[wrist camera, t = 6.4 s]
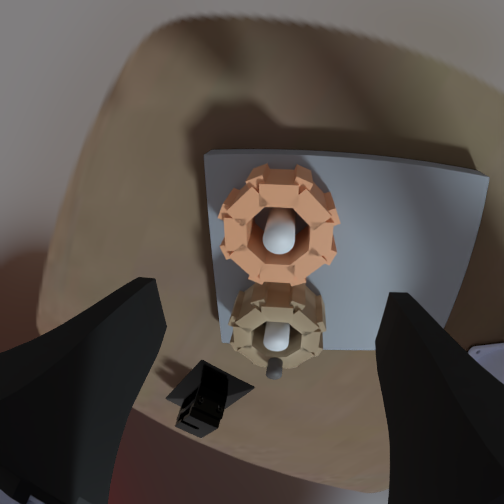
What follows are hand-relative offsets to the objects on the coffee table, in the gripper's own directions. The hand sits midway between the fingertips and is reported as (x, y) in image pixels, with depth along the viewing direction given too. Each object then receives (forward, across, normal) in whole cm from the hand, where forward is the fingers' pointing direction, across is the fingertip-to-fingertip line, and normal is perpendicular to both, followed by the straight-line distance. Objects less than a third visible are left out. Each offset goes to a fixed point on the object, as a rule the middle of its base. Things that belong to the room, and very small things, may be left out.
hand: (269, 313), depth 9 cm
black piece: (+10, +7, +19) cm, 23 cm away
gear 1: (+8, 0, 0) cm, 8 cm away
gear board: (+9, -4, +3) cm, 11 cm away
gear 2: (+8, 0, +6) cm, 10 cm away
